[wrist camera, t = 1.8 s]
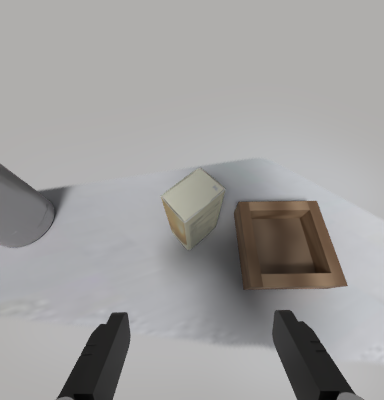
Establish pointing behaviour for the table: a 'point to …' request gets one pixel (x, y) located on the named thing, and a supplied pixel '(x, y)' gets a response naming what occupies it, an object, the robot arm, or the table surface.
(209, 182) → the skincare box
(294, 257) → the block
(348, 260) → the table surface
